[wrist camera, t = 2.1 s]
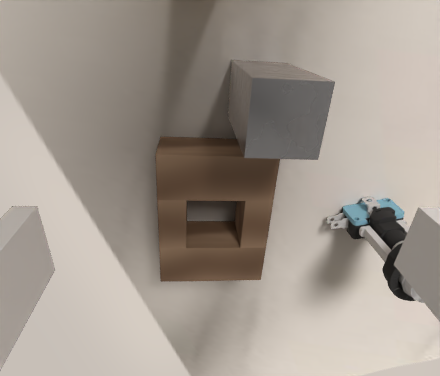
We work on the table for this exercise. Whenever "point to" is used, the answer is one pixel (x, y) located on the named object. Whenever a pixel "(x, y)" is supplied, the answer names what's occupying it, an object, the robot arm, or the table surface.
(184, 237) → the socket block
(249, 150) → the square bar bit
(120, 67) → the table surface
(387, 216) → the push button
